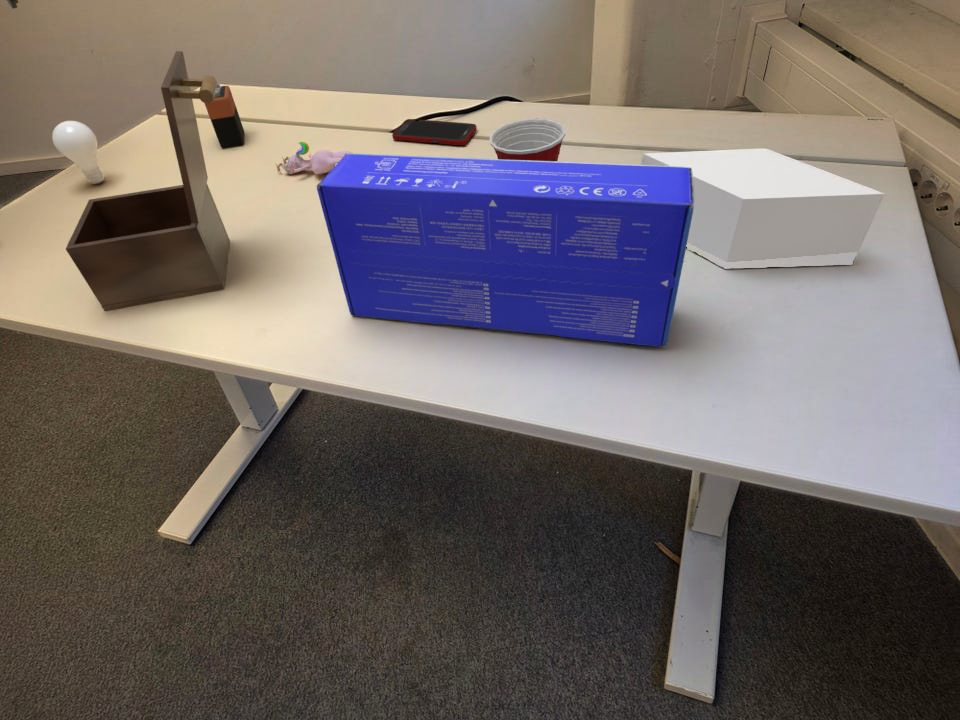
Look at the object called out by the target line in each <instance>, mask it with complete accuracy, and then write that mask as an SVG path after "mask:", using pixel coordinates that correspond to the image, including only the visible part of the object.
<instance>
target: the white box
mask: <svg viewBox="0 0 960 720" xmlns="http://www.w3.org/2000/svg"><path fill="white" fill-rule="evenodd" d="M640 165H654V166H678V167H690V168H691V169H692V172H693V188H694V209H693V215H692V220H691V225H690V230H689V235H688V240H687V243H690V244H691V245H693V246H696V247H697V248H699V249H701V250H703V251H706V252H707V253H710V254H712V255H714V256H715V257H718V258H719V259H722V260H723V261H725V262H737V261H738V262H739V261H752V260H753V261H754V260H766V259H776V258H777V259H778V258H789V257H790V258H791V257H802V256H817V255H827V254H828V255H829V254H839V253H849V252H850V253H851V252H853V253H854V252H858V253H859V252H860V250H861V247H862V245H863V243H864V241H865V239H866V236H867V234H868V233H869V230H870V228H871V225H872V224H873V221H874V218H875V216H876V214H877V213H878V209H879V208H880V206H881V203H882V200H883V199H884V196H885V193H884V192H881V191H878V190H876V189H874V188H871V187H868V186H865V185H863V184H861V183H857V182H855V181H852V180H850V179H847V178H844V177H842V176H839V175H837V174H834V173H831V172H829V171H826V170H823V169H821V168H818V167H815V166H813V165H811V164H808V163H805V162H803V161H801V160H797V159H794V158H792V157H789V156H786V155H784V154H782V153H779V152H777V151H774V150H772V149H768V148H766V147H764V148H762V147H761V148H740V149H717V150H695V151H693V150H692V151H691V150H690V151H672V152H670V151H669V152H648V153H647V152H645V153H644V152H643V153H642V157H641V163H640Z"/></svg>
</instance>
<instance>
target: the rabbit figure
mask: <svg viewBox="0 0 960 720" xmlns="http://www.w3.org/2000/svg"><path fill="white" fill-rule="evenodd" d="M298 144H299V145H300V146H301V147H299V148H298V149H297V150H296V152H295V154H294V155H293V156H292V157H290V156H286V157H285V158H284V157H281V158H282V162H283V163H282V162H280V163H279V164H277V163H275V165H276V166H275V167H276V170H277V174H280V173H281V167H282V169H283V170H284V171H285V172H286V173H287V174H289V175H295V174H297V173H300V172H301V171H309V170H310V169H311V170H312V172H313V174H315V175H324V174H326V175H327V173H329V172H330V171H331V170H332V169H333V168H334V167H335V166H336V165H337V164H338V162H339V161H340V160H341V159H342V158H343V157H344V156H345V154H354V153H353V152H351V151H348V150H339V151H336V152H333V151H330V150H327V149H324V150H323V149H321V150H318V151H316V152H314V153H313V155H312V154H311V153H310V154H308V153H309V151H310V146H309V145H308V142H306V141H299V142H298ZM306 154H308V158H310V159H304V158H303V157H302V156H304V155H306Z"/></svg>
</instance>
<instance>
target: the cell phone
mask: <svg viewBox="0 0 960 720" xmlns="http://www.w3.org/2000/svg"><path fill="white" fill-rule="evenodd" d="M415 120H418V118H407V119H405V120H404V121H403V122H402V123H401V124H400V125H399V126H398V127H397V128H396V129H395V130H394V131H393V133H392V134H391V136H392V139H393V140H396V141H404V142H405V141H406V142H417V143H427V144H428V143H429V144H439V145H440V144H441V145H450V146H451V145H452V146H465V145H467V143H469V141H470V139H471V138H472V137H473V135H474V134H475V133H476V131H477V125H476V124H475V123H469V122H458V121H456V122H455V121H445V120H444V121H443V120H430V119H419V121H415Z"/></svg>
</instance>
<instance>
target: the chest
mask: <svg viewBox="0 0 960 720" xmlns="http://www.w3.org/2000/svg"><path fill="white" fill-rule="evenodd" d="M230 245H231V239H230V237H229V234H228V232H227V230H226V226H225V225H224V222H223V219H222V217H221V215H220V212H219V210H218V207H217V205H216V202H215V200H214V197H213V194H212V192H211V189H210V187H209V185H208V183H207V184H206V189H205V194H204V199H203V204H202V209H201V214H200V219H199V223H198V224H192V222H191V217H190V213H189V209H188V204H187V200H186V195H185V191H184V187H183V184H179V185H172V186H165V187H161V188H160V187H159V188H154V189H148V190H142V191H135V192H129V193H122V194H116V195H115V194H114V195H110V196H105V197H97V198H90V199H88V201H87V203H86V205H85V207H84V209H83V212H82V214H81V215H80V217H79V219H78V221H77V224H76V225H75V227H74V231H73V233H72V235H70V239H69V241H68V243H67V244H66V247H65V251H66V252H67V254H68V255H69V257H70V259H71V260H72V262H73V263H74V265H75V266H76V268H77V270H78V272H79V273H80V275H81V277H83V279H84V280H85V283H86V284H87V285H88V287H89V289H90V290H91V292H92V293H93V294H94V297H95V298H96V300H97V302H98V303H99V304H100V306H101V308H102V309H103V311H104V312H107V311H112V310H117V309H123V308H128V307H133V306H140V305H144V304H150V303H155V302H156V303H157V302H163V301H167V300H172V299H177V298H184V297H189V296H194V295H200V294H205V293H211V292H216V291H223V290H225V285H226V278H227V277H226V276H227V269H228V260H229V252H230Z"/></svg>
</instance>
